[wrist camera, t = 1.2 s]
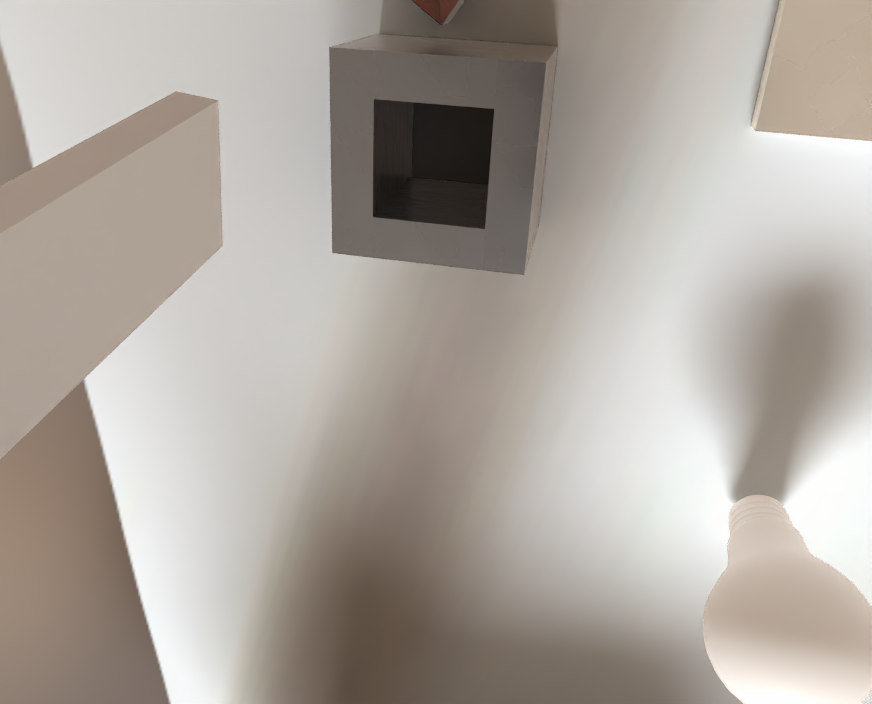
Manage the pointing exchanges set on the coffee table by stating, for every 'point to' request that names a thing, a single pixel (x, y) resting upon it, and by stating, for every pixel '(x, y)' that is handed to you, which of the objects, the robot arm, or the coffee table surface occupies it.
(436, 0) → the picture frame
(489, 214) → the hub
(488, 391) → the coffee table surface
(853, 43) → the shaft
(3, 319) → the robot arm
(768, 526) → the lightbulb
